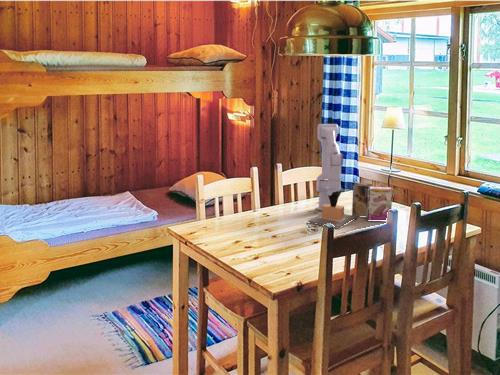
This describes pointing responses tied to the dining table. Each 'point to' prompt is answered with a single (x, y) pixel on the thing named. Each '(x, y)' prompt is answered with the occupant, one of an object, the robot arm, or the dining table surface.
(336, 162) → the robot arm
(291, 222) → the dining table surface
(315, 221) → the pin board
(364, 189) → the coffee box
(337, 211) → the block
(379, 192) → the candy bar box
